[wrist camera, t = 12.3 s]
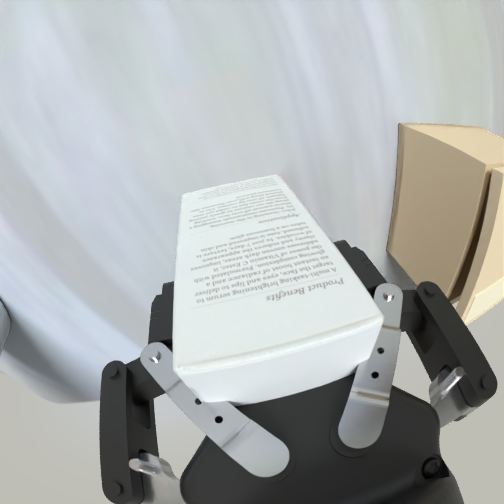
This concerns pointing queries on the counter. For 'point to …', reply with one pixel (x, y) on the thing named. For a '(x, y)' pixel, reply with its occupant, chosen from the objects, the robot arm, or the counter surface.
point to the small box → (263, 297)
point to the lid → (487, 258)
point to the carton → (441, 201)
